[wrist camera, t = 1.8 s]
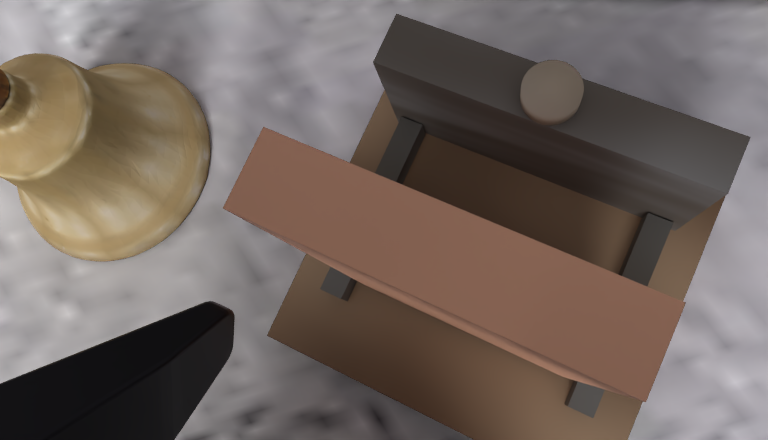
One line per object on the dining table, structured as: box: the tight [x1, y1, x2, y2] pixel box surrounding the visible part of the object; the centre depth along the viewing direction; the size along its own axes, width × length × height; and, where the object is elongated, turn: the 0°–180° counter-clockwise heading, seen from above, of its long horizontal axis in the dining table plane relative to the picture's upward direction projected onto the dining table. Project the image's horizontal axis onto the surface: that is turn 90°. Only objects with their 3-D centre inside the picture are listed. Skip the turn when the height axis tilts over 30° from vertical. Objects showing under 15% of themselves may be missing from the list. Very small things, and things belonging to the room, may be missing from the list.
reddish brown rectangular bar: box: [223, 127, 685, 402], centre depth 16 cm, size 2×7×12 cm, turn 64°
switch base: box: [267, 14, 750, 440], centre depth 20 cm, size 10×12×7 cm
